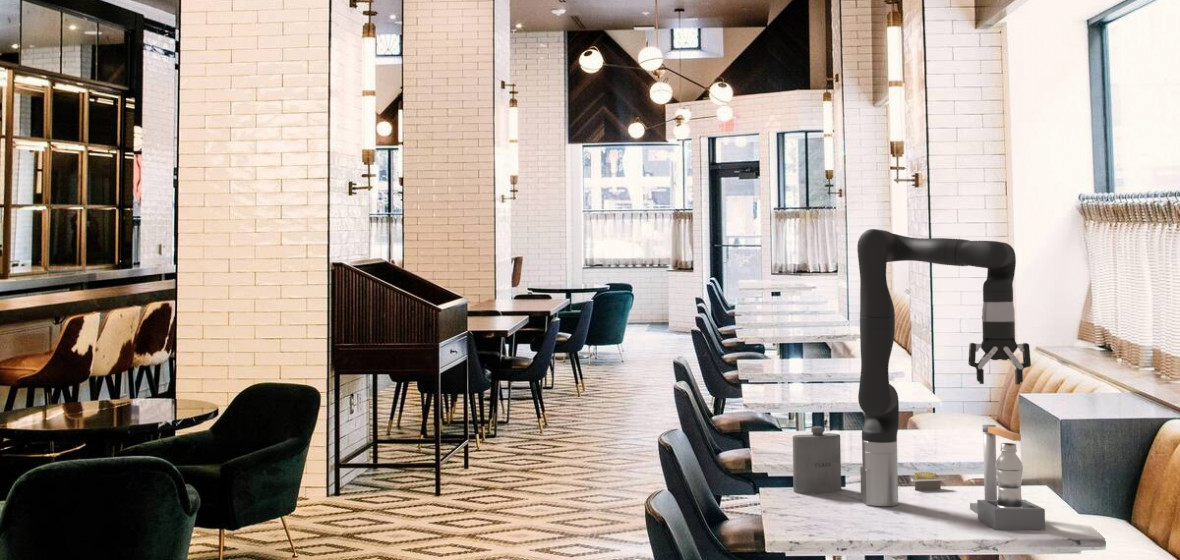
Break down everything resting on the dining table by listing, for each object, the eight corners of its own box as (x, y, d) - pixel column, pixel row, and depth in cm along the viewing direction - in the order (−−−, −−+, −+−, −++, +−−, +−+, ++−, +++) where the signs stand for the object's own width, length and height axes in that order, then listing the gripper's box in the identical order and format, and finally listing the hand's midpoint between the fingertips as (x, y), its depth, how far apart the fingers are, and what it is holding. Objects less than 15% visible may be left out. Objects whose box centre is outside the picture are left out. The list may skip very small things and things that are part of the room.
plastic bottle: (1022, 522, 230) (1020, 442, 231) (1026, 528, 224) (1024, 446, 225) (995, 520, 233) (993, 441, 233) (997, 526, 226) (995, 445, 227)
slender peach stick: (1023, 441, 224) (1023, 433, 224) (1010, 441, 224) (1010, 433, 224) (992, 431, 242) (992, 424, 242) (980, 431, 242) (980, 424, 243)
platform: (887, 492, 272) (887, 470, 272) (944, 490, 274) (943, 468, 275) (907, 500, 260) (907, 477, 260) (966, 498, 262) (965, 475, 263)
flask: (800, 499, 260) (799, 429, 261) (790, 495, 266) (789, 426, 267) (846, 496, 265) (845, 426, 266) (835, 492, 270) (834, 424, 271)
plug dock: (995, 529, 223) (993, 443, 224) (962, 510, 244) (960, 431, 245) (1045, 529, 222) (1043, 443, 223) (1007, 510, 244) (1006, 431, 245)
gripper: (971, 320, 230) (972, 384, 229) (1032, 320, 227) (1033, 385, 226) (965, 319, 237) (967, 382, 237) (1025, 319, 234) (1026, 383, 233)
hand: (999, 384), depth 231 cm, fingers open, 8 cm apart
